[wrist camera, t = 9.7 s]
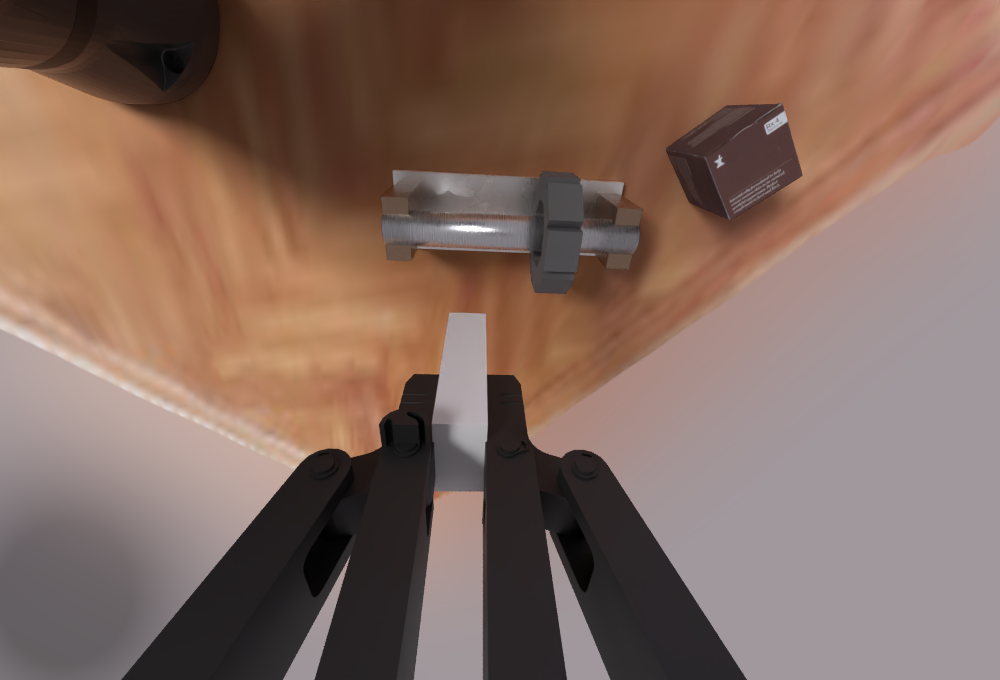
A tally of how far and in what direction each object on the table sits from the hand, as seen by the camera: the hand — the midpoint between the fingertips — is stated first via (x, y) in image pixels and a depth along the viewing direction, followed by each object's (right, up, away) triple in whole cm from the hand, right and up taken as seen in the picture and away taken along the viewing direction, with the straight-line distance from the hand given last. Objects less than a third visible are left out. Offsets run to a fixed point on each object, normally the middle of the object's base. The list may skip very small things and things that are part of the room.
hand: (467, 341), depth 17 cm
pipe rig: (+2, +12, +21) cm, 24 cm away
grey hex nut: (+6, +11, +20) cm, 23 cm away
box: (+20, +17, +19) cm, 33 cm away
